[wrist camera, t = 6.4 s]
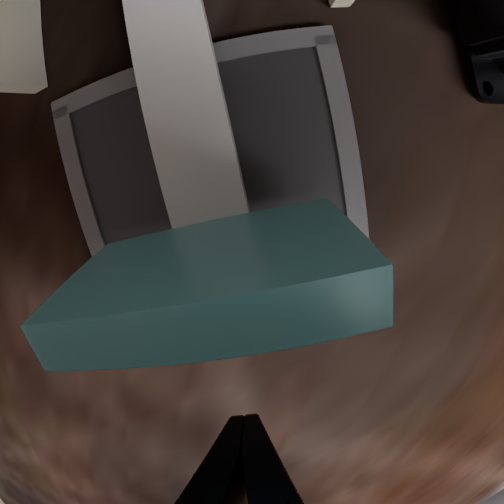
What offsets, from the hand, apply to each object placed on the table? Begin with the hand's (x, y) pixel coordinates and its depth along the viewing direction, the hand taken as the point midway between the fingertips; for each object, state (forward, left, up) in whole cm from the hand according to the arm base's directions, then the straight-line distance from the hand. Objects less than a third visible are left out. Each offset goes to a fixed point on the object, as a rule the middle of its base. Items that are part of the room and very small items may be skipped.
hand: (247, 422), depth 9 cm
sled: (0, -17, -2) cm, 17 cm away
